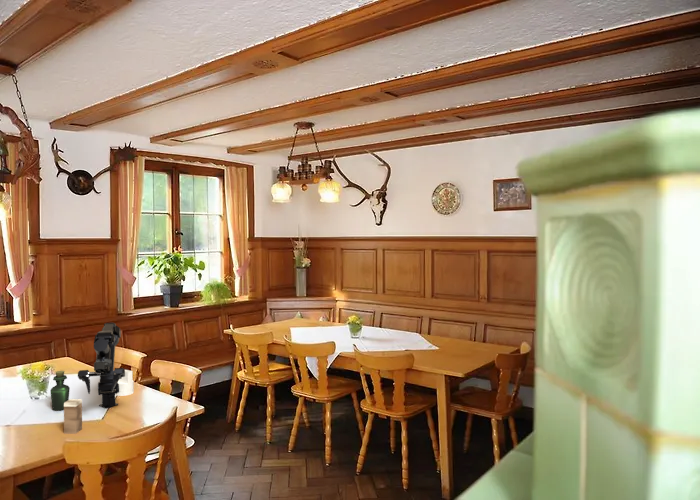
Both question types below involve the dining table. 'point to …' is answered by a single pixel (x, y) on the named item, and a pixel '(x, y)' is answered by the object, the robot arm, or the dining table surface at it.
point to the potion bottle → (59, 392)
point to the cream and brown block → (72, 416)
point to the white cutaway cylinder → (126, 384)
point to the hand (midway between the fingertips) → (100, 392)
